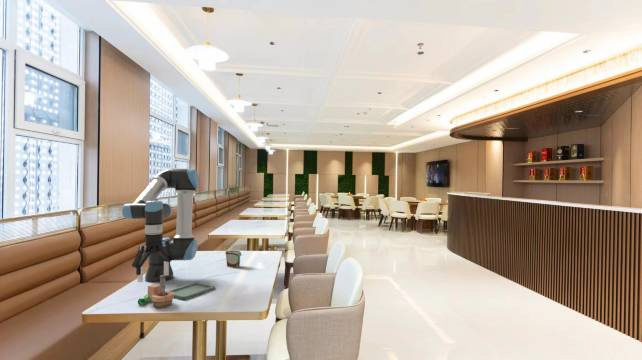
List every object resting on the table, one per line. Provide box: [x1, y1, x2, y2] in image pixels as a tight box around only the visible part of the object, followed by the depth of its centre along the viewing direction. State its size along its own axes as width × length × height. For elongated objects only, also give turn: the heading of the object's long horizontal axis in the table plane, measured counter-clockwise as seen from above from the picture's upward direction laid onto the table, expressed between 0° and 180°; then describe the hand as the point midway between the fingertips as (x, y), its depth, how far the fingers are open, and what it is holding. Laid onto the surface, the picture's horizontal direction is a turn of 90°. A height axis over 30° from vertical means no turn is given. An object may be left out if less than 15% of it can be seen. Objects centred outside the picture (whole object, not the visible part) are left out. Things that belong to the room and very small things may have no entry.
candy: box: [137, 293, 152, 306], centre depth 171 cm, size 12×3×4 cm
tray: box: [168, 281, 216, 301], centre depth 184 cm, size 20×15×2 cm
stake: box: [152, 275, 173, 309], centre depth 165 cm, size 8×8×14 cm
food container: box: [224, 250, 242, 269], centre depth 236 cm, size 12×6×10 cm, turn 58°
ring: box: [147, 283, 174, 302], centre depth 166 cm, size 9×13×5 cm
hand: (153, 278), depth 168 cm, fingers open, 13 cm apart
